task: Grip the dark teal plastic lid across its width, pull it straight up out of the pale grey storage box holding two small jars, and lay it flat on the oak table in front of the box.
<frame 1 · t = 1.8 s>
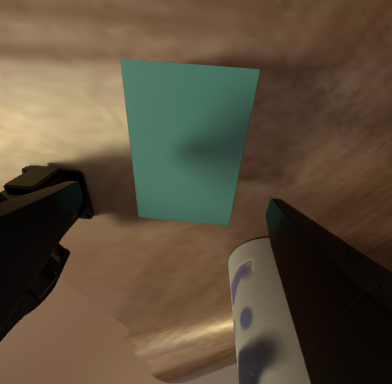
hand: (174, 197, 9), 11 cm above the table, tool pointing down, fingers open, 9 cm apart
container: (263, 261, 28), on the table
lid: (187, 155, 14), point 6 cm above the table, touching storage box
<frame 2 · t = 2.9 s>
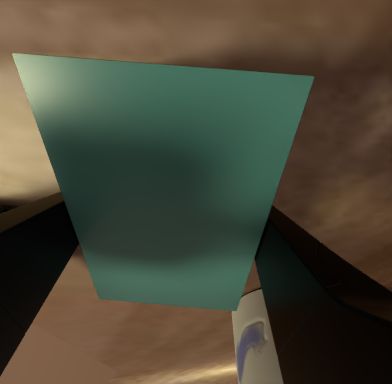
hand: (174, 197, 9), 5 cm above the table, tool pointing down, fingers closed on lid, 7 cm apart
container: (275, 308, 23), on the table
lid: (169, 216, 8), point 6 cm above the table, touching gripper, storage box
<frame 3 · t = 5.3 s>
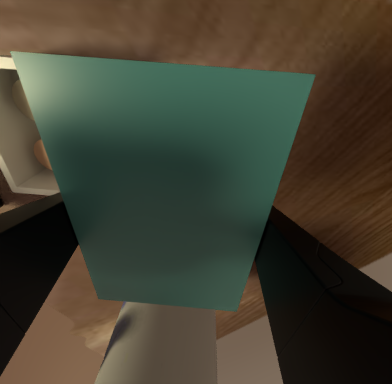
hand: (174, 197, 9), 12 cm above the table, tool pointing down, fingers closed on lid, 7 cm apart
container: (179, 249, 29), on the table
lid: (169, 216, 8), point 13 cm above the table, touching gripper
storage box: (71, 119, 20), on the table
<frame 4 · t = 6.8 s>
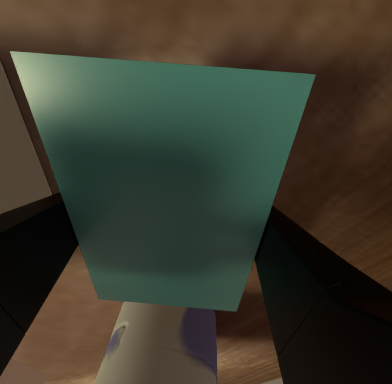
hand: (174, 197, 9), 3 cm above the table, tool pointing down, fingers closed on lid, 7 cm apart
container: (169, 311, 22), on the table
lid: (169, 216, 8), point 5 cm above the table, touching gripper
when the fingers open (1 cm above the table, at t = 7.9 s): lid drops 2 cm, point 1 cm above the table.
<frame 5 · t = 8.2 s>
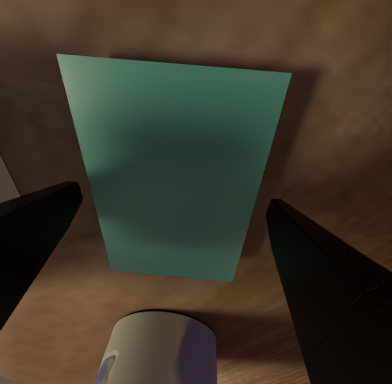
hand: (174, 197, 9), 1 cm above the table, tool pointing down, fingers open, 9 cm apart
container: (165, 333, 20), on the table
lid: (174, 194, 10), point 1 cm above the table
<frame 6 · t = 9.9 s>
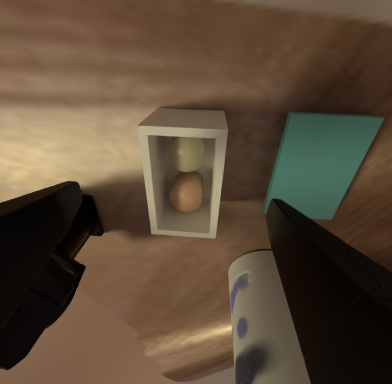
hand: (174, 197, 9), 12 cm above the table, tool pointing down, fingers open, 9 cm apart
container: (261, 270, 30), on the table
lid: (311, 170, 20), point 1 cm above the table
storage box: (190, 160, 21), on the table
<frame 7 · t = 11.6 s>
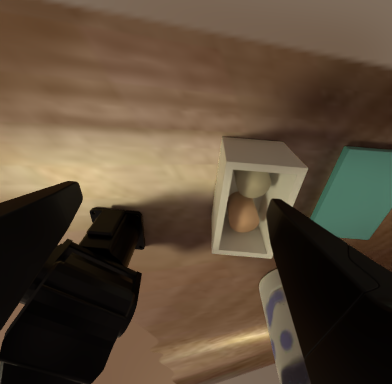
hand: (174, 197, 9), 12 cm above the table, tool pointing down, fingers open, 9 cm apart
container: (290, 283, 32), on the table
lid: (355, 196, 22), point 1 cm above the table
storage box: (242, 183, 22), on the table
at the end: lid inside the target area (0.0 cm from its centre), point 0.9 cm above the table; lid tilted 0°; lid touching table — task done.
